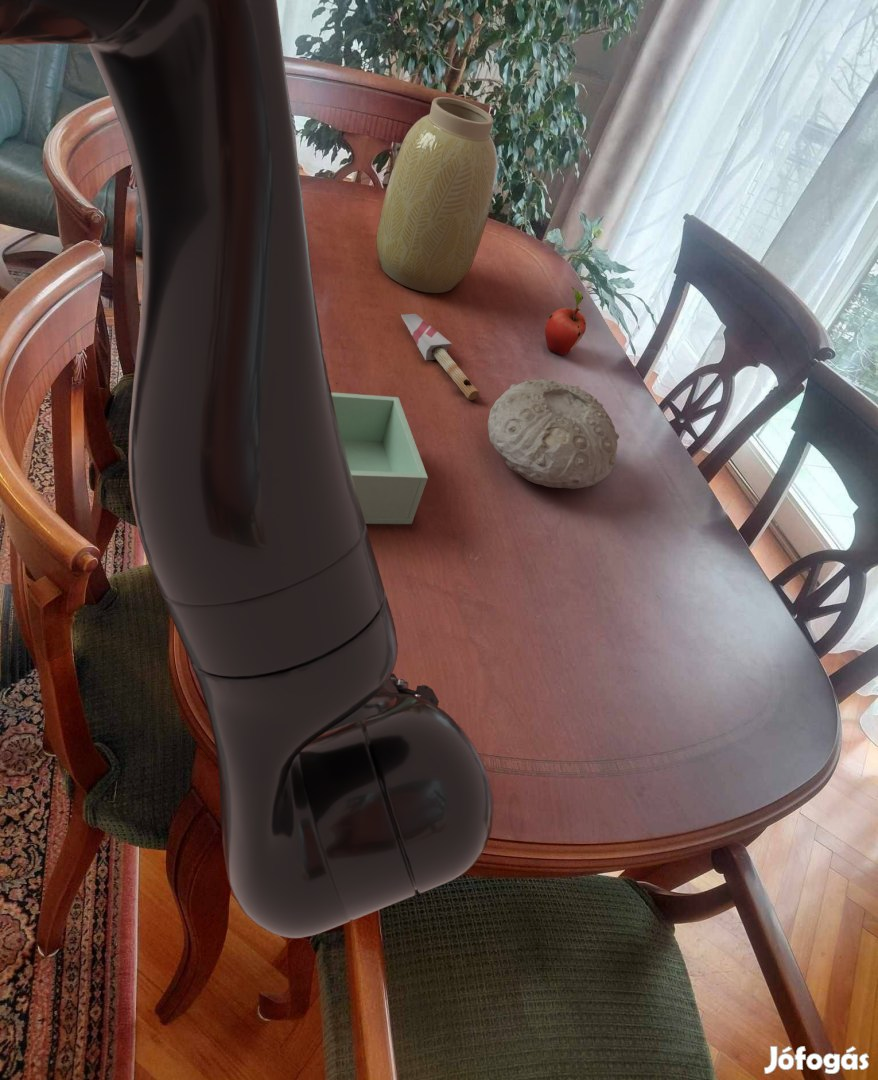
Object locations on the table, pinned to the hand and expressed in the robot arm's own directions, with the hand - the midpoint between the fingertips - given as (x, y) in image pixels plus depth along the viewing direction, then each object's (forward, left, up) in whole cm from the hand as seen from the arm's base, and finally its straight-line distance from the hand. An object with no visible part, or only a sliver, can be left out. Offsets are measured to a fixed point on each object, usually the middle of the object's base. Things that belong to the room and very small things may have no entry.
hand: (334, 674), depth 63 cm
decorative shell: (+31, +43, -9) cm, 54 cm away
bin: (+3, +34, -8) cm, 35 cm away
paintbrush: (+19, +64, -9) cm, 67 cm away
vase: (+19, +91, -9) cm, 93 cm away
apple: (+41, +74, -9) cm, 85 cm away
